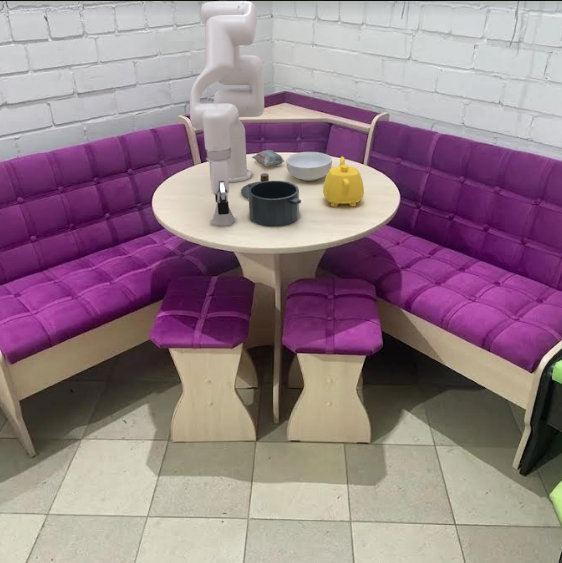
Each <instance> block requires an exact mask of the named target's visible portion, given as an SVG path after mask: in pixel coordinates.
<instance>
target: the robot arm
mask: <svg viewBox="0 0 562 563" xmlns="http://www.w3.org/2000/svg"><path fill="white" fill-rule="evenodd" d="M200 17H201V20H202V23H203V25H204V55H205V56H204V69H203V70H202V72H200V74H199V75H198V76H197V77H196V78H195V80H194V82H193V84H192V87H191V90H190V94H189V119H190V123H191V126H192V127H193V128H194V129H195V130H199V131H203V140H204V152H205V160H206V161H207V162H209V178H210V188H211V193H212V194H213V195H214V197H215V203H216V204H217V203H218V214H219V215H224V214H229V208H230V206H229V199H228V194H229V193H230V183H235V182H236V183H237V182H244V181H247V180H249V179H250V178H251V177H252V172H251V170H250V169H248V163H247V162H248V161H247V141H246V140H247V139H246V128H245V126H244V124H243V123H242V121H241V120H240V118H256V117H257V118H258V117H261V116H262V115H263V114H264V111H265V86H264V82H265V81H264V69H263V62H262V60H261V58H260V57H259V56H258V55H254V54H241V52H240V51H241V50H240V46H242V47H243V46H251V45H252V44H253V43H254V40H255V35H256V29H257V23H258V10H257V7H256V5H255V4H254V3H253V2H252V1H249V0H248V1H247V0H218V1H217V0H216V1H208V2H204V3H203V4H202V5H201V7H200ZM217 82H218V83H219V84H220V85H222V86H223V85H224V86H248V87H247V88H246V87H244V88H241V87H240V88H239V87H234V88H233V87H227V88H221V89H218V90H217V91H216V92H215V93H214V95H213V103H212V102H210V103H209V102H208V103H205V102H204V103H201V96H203V92H205V90H207V88H209V87H210V86H212V84H215V83H217ZM219 191H221V192H219ZM217 195H218V197H217ZM220 195H221V196H220ZM217 198H218V202H217Z"/></svg>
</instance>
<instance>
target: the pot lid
mask: <svg viewBox="0 0 562 563" xmlns="http://www.w3.org/2000/svg"><path fill="white" fill-rule="evenodd" d="M264 181H270V176H269V173H266V172H265V173H264V172H263V173H261V174H260V181H255V182H254V183H260V182H264ZM251 183H252V182H251ZM251 183H249V184H251ZM248 189H249V187H248V184H245V185H244V186H243V187H242V188H241V189H240V194H241V196H243V197H244V198H246V199H248V200H249V194H248Z"/></svg>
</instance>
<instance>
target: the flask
mask: <svg viewBox="0 0 562 563" xmlns="http://www.w3.org/2000/svg"><path fill="white" fill-rule="evenodd" d="M219 192H221V191H219ZM220 196H221V195H220ZM217 197H218V195H217ZM217 202H218V198H217ZM217 202H216V206H215V209H214V213H213V216H212V220H211V221H212V222H211V223H212V224H211V225H215V226H219V227H226V226H230V225H232V224H233V223H235V216H234V215H233V213H232V210H231V208H230V207H229V214H224V215H219V214H218V203H217Z"/></svg>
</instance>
